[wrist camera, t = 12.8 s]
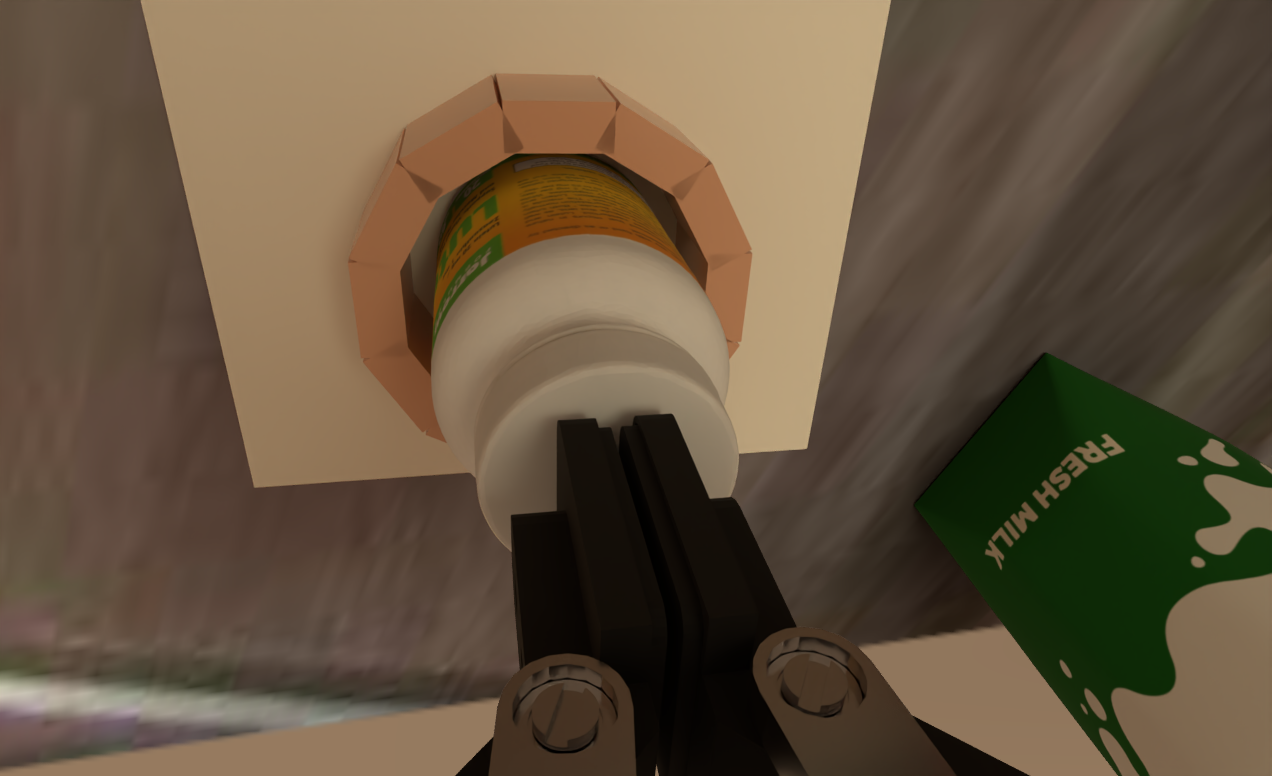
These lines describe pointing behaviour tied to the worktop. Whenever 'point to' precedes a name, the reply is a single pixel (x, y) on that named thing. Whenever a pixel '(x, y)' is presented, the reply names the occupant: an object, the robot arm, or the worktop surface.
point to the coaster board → (365, 138)
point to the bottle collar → (484, 136)
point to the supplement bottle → (567, 329)
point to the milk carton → (1123, 568)
